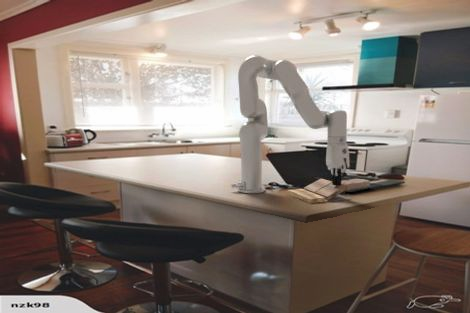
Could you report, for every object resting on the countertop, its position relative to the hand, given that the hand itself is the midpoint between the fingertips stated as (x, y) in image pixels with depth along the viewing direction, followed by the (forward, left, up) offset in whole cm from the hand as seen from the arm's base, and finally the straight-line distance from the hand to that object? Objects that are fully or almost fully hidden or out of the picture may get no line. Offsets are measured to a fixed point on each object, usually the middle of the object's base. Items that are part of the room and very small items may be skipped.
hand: (336, 184), depth 146 cm
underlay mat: (-6, +5, -6) cm, 9 cm away
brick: (+17, +11, -6) cm, 21 cm away
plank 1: (-2, +10, -3) cm, 10 cm away
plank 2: (-2, 0, -3) cm, 4 cm away
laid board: (-12, +5, -6) cm, 14 cm away
